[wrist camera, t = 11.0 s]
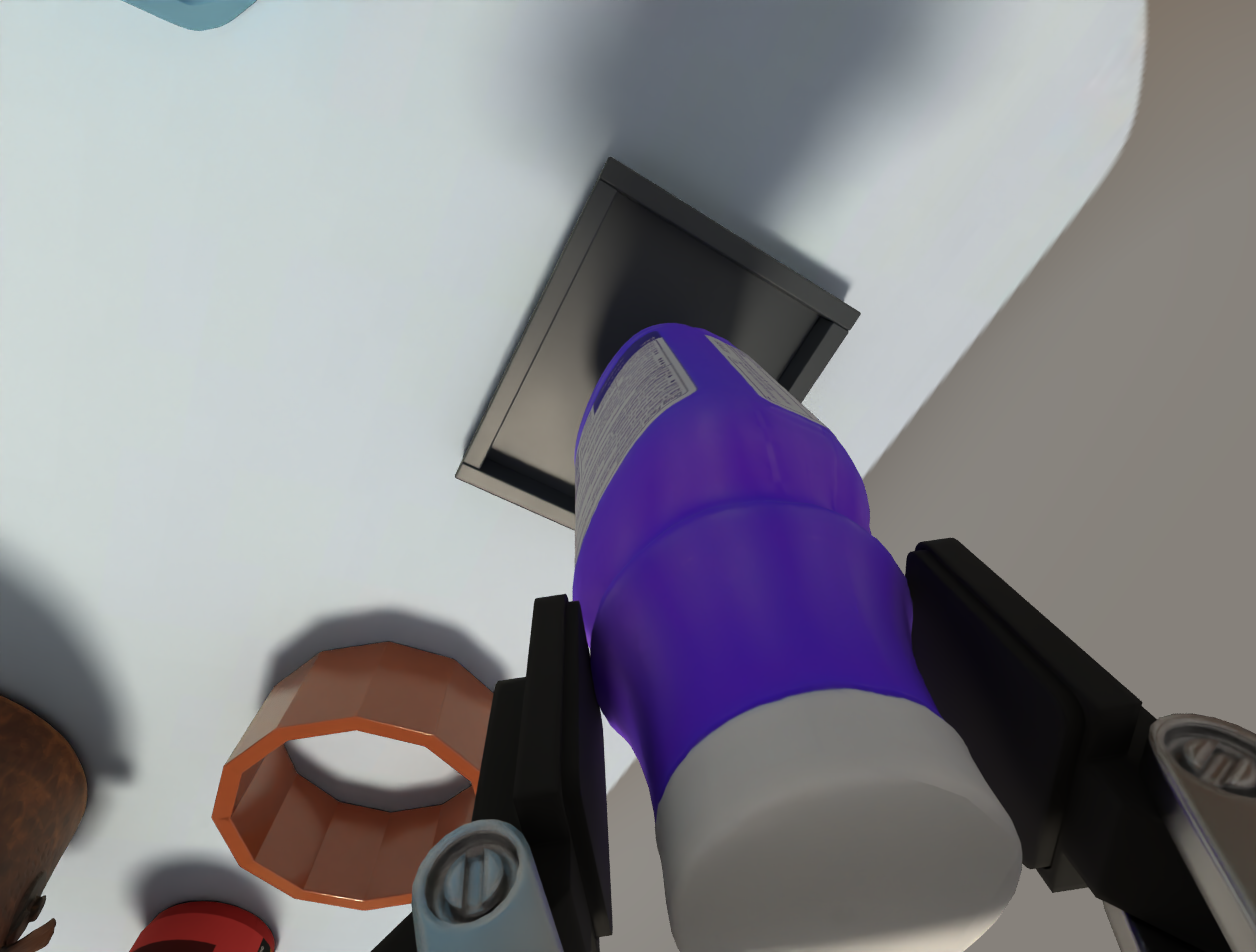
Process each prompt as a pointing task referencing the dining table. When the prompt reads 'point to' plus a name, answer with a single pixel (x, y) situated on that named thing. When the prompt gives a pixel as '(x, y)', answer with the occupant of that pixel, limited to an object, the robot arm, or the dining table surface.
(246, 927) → the canned food
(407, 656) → the terracotta faceted ring
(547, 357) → the tray
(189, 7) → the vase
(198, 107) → the dining table surface
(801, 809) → the bottle
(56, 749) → the case
